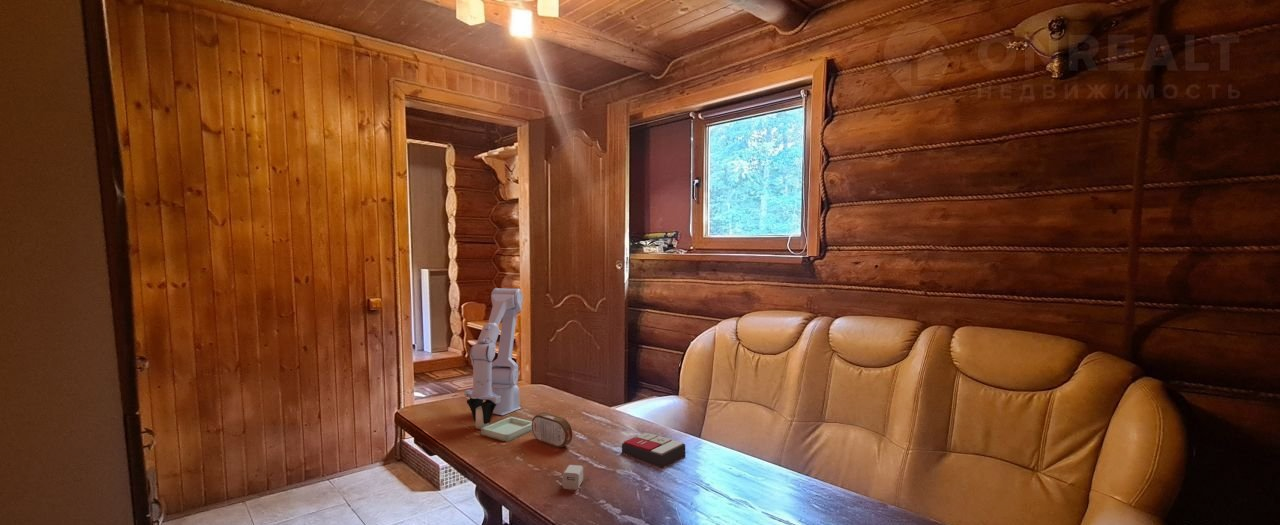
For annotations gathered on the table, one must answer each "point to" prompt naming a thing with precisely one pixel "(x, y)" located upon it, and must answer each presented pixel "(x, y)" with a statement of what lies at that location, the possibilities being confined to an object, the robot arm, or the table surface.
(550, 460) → the table surface
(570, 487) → the usb wall charger
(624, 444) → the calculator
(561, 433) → the tin
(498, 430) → the trough tray
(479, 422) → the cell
